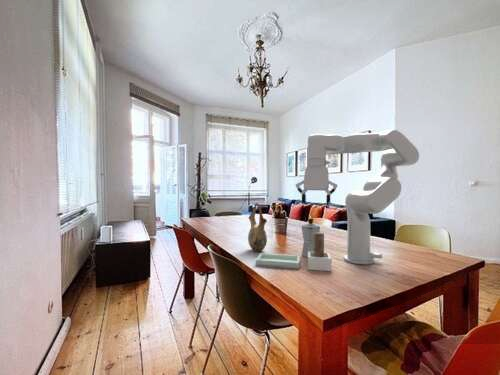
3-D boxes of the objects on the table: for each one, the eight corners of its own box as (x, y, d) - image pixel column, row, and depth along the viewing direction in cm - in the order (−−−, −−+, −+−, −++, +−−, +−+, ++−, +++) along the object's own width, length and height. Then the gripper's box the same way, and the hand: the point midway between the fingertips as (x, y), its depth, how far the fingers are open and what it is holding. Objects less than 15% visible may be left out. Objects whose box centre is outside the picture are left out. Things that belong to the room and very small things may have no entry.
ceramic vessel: (273, 253, 124) (273, 203, 123) (257, 255, 119) (257, 204, 119) (257, 246, 138) (257, 201, 138) (242, 248, 134) (242, 202, 134)
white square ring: (329, 264, 107) (329, 252, 107) (331, 271, 98) (331, 258, 98) (307, 262, 109) (307, 251, 109) (307, 269, 100) (308, 257, 100)
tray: (299, 261, 111) (299, 255, 111) (299, 269, 101) (299, 262, 100) (260, 258, 115) (260, 252, 115) (255, 265, 104) (255, 259, 104)
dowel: (323, 265, 105) (323, 232, 105) (324, 268, 101) (324, 234, 101) (313, 264, 106) (314, 232, 106) (314, 267, 102) (314, 234, 102)
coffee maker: (319, 260, 112) (319, 220, 112) (299, 258, 115) (299, 219, 115) (320, 252, 127) (321, 216, 126) (303, 250, 129) (303, 216, 129)
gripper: (338, 164, 106) (337, 204, 106) (297, 165, 112) (297, 202, 112) (337, 162, 99) (337, 205, 99) (294, 163, 105) (293, 203, 105)
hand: (315, 204), depth 105 cm, fingers open, 9 cm apart
